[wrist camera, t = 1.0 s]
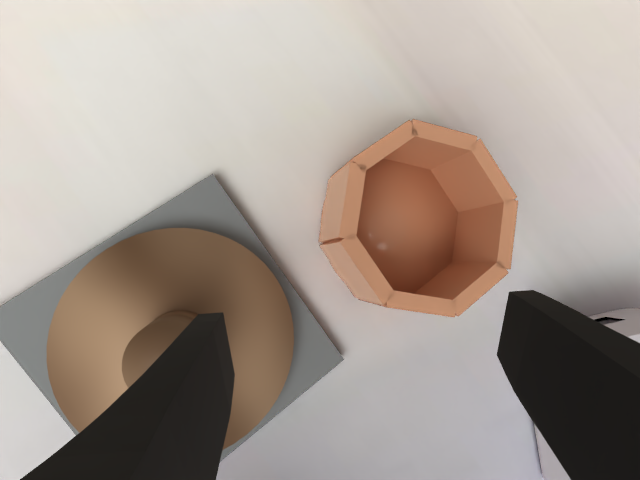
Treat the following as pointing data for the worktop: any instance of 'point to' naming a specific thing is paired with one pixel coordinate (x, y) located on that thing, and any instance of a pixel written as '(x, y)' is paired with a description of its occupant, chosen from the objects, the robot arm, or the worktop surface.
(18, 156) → the worktop surface
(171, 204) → the mat
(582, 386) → the robot arm
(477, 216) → the bowl
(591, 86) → the worktop surface
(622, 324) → the charger
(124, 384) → the lid
